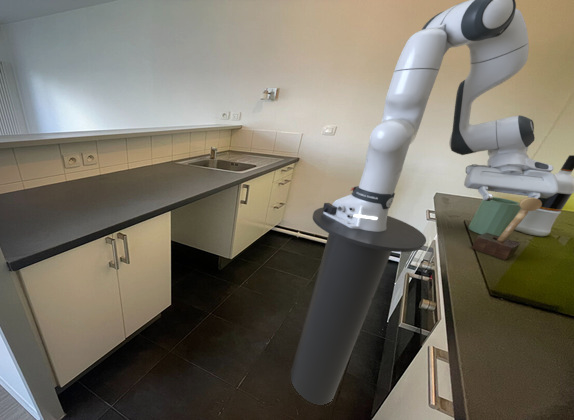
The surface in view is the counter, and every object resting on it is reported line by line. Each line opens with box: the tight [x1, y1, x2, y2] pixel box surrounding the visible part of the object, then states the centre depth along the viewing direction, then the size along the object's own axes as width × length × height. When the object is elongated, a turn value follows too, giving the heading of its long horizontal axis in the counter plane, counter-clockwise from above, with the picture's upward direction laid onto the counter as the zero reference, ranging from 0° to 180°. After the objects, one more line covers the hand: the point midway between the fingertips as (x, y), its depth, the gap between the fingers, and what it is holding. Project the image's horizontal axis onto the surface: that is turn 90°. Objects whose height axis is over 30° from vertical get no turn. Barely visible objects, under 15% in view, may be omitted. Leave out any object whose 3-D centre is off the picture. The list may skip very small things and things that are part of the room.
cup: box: [468, 196, 522, 236], centre depth 92 cm, size 9×9×13 cm
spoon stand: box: [471, 233, 521, 261], centre depth 79 cm, size 8×8×4 cm
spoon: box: [497, 197, 542, 242], centre depth 76 cm, size 4×2×19 cm, turn 60°
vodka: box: [514, 154, 574, 237], centre depth 91 cm, size 9×9×30 cm
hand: (508, 202), depth 79 cm, fingers open, 8 cm apart
